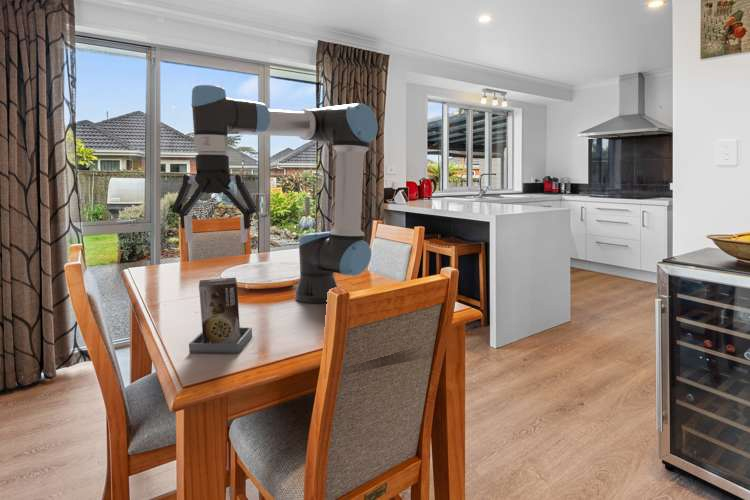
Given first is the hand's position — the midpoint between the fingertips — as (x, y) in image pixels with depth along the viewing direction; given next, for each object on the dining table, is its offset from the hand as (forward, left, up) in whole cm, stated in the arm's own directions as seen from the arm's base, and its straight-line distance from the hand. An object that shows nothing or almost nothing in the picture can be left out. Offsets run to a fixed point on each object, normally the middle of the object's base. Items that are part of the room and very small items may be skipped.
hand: (216, 242), depth 113 cm
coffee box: (0, 0, -26) cm, 26 cm away
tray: (0, 0, -27) cm, 27 cm away
